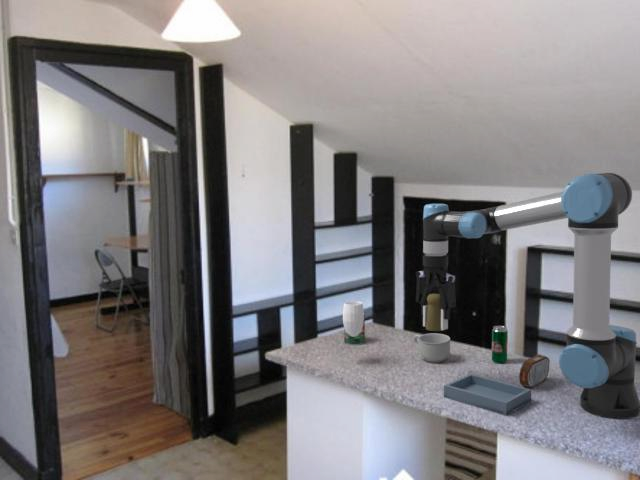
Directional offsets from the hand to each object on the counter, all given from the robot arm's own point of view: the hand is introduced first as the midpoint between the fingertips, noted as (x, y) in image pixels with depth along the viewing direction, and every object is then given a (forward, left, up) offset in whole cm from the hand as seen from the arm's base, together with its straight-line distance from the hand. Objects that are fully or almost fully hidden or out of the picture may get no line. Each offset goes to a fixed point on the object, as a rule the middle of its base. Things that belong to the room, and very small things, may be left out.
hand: (435, 327), depth 201 cm
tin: (-25, -17, -17) cm, 35 cm away
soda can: (-6, -29, -17) cm, 34 cm away
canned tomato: (+46, -13, -17) cm, 51 cm away
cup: (+30, +5, -17) cm, 35 cm away
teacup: (+13, -16, -17) cm, 27 cm away
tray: (-21, +4, -17) cm, 27 cm away
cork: (0, 0, -1) cm, 1 cm away
